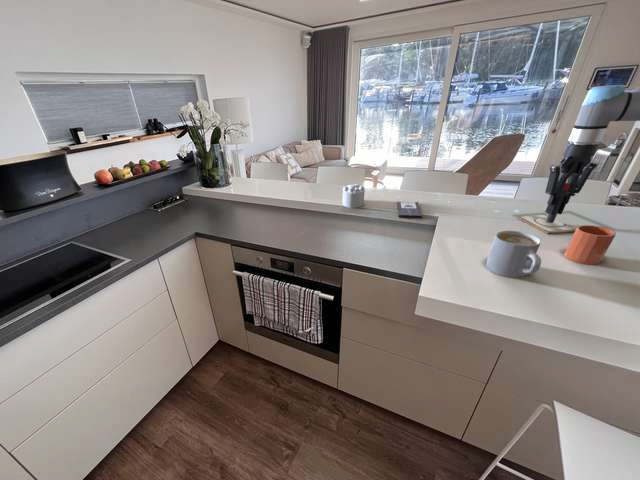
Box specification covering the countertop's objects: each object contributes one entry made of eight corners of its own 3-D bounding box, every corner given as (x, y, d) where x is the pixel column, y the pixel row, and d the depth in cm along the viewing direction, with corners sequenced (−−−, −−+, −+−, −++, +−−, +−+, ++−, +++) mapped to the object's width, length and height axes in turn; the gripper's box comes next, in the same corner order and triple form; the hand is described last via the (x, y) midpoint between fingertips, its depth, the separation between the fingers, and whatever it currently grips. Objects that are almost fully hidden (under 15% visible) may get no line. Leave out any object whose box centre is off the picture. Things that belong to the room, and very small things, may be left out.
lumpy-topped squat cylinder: (363, 199, 148) (364, 182, 144) (364, 207, 137) (365, 190, 133) (342, 199, 150) (343, 183, 146) (342, 208, 140) (342, 190, 135)
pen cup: (583, 251, 89) (597, 224, 84) (608, 263, 82) (624, 235, 77) (557, 252, 89) (569, 226, 85) (579, 265, 82) (594, 237, 78)
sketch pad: (568, 213, 113) (569, 211, 112) (607, 230, 99) (608, 227, 98) (515, 217, 114) (516, 215, 113) (547, 234, 100) (548, 232, 100)
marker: (550, 220, 105) (566, 182, 98) (555, 222, 103) (572, 183, 96) (543, 220, 105) (559, 182, 98) (548, 223, 103) (565, 184, 96)
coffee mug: (479, 260, 89) (489, 231, 84) (515, 260, 87) (526, 230, 82) (503, 284, 78) (515, 252, 73) (544, 284, 76) (559, 251, 71)
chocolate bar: (399, 215, 123) (397, 201, 138) (398, 217, 124) (397, 203, 138) (421, 215, 120) (417, 201, 135) (421, 217, 121) (417, 203, 135)
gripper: (597, 139, 93) (566, 208, 105) (548, 143, 94) (523, 210, 106) (620, 142, 87) (584, 215, 99) (568, 146, 88) (539, 218, 100)
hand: (553, 212), depth 103 cm, fingers closed on marker, 2 cm apart
